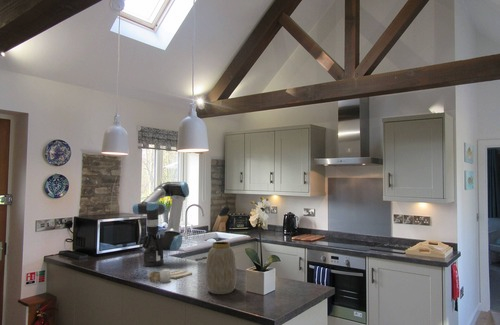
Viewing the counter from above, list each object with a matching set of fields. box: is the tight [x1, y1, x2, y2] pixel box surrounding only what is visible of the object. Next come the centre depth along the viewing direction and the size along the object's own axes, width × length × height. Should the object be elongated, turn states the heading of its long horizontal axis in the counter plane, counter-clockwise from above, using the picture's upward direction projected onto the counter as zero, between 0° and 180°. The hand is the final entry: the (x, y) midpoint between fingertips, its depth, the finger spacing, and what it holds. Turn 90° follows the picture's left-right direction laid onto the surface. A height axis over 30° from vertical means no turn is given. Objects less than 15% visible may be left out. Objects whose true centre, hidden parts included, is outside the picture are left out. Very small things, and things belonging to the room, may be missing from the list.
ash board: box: [170, 269, 193, 280], centre depth 240 cm, size 12×15×1 cm
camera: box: [143, 246, 164, 262], centre depth 240 cm, size 13×10×10 cm
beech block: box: [148, 271, 160, 283], centre depth 228 cm, size 5×5×5 cm
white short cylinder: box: [159, 268, 171, 284], centre depth 226 cm, size 6×6×7 cm
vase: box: [205, 241, 237, 295], centre depth 207 cm, size 17×17×27 cm
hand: (152, 259), depth 240 cm, fingers closed on camera, 10 cm apart
